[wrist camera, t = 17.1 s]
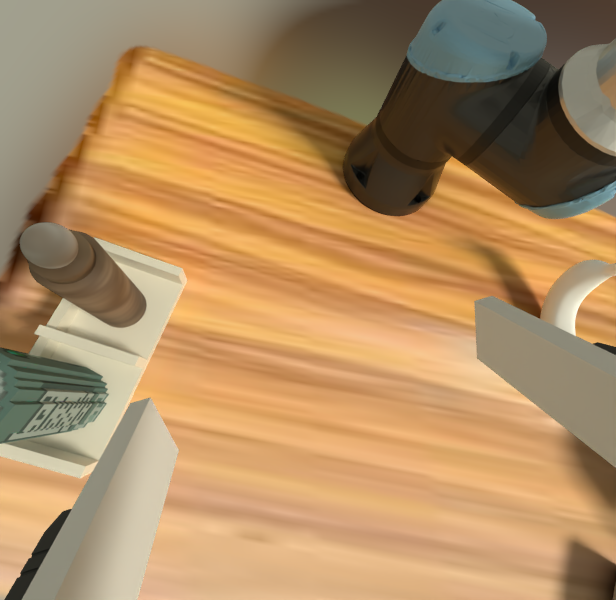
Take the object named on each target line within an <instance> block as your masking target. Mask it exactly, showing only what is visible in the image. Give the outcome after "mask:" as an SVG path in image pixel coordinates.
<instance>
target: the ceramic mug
mask: <svg viewBox="0 0 616 600" xmlns="http://www.w3.org/2000/svg"><path fill="white" fill-rule="evenodd" d="M613 600H616V583H615V588H614V594H613Z"/></svg>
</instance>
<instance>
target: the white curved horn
mask: <svg viewBox="0 0 616 600" xmlns="http://www.w3.org/2000/svg"><path fill="white" fill-rule="evenodd" d="M612 276H616V263H615V264H608V263H606V262H603V261H599V260H586V261H582V262H580V263H578V264H576V265H574V266H572V267H571V268H569V269H568V270H567V271H566V272H564V273H563V274H562V275H561V276H560V277H559V278H558V279H557V280H556V282H555V283H554V284H553V285H552V287H551V288H550V290H549V292H548V294H547V296H546V298H545V300H544V303H543V306H542V310H541V315H540V319H541V320H543V321H546V322H548V323H550V324H552V325H554V326H556V327H558V328H560V329H562V330H564V331H566V332H568V333H570V334H573V335H575V318H576V313H577V310H578V308H579V306H580V304H581V302H582V301H583V299H584V298H585V297H586V296H587V295H588V294H589V293H590V292H591V291H592V290H593V289H595V288H596V287H597V286H598V285H600V284H601V283H603V282H604V281H605V280H607V279H608V278H609V277H612ZM575 336H576V335H575Z"/></svg>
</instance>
